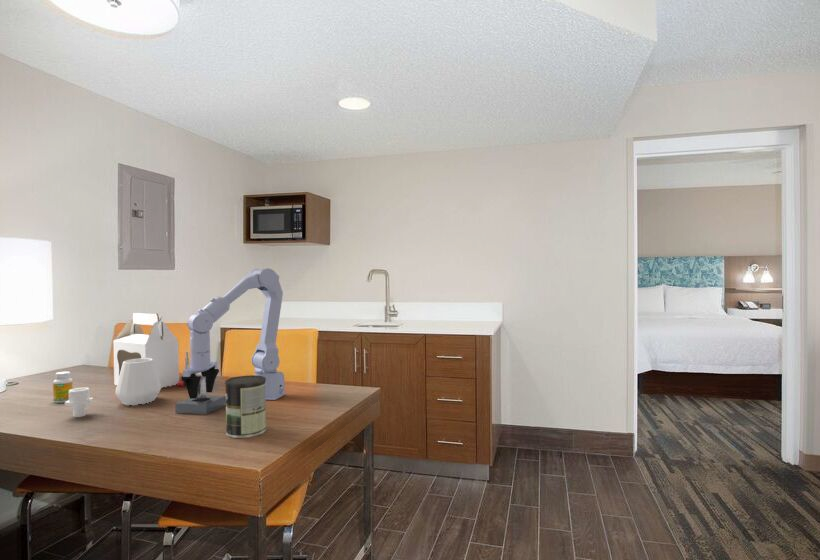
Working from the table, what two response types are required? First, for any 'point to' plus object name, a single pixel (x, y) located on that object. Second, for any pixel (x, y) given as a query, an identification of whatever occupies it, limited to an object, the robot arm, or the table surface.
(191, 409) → the clevis block
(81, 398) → the pipe fitting
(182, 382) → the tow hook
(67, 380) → the supplement bottle
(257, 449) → the table surface
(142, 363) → the cup
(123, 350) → the gable box
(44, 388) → the table surface
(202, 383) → the pin
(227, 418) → the coffee can
